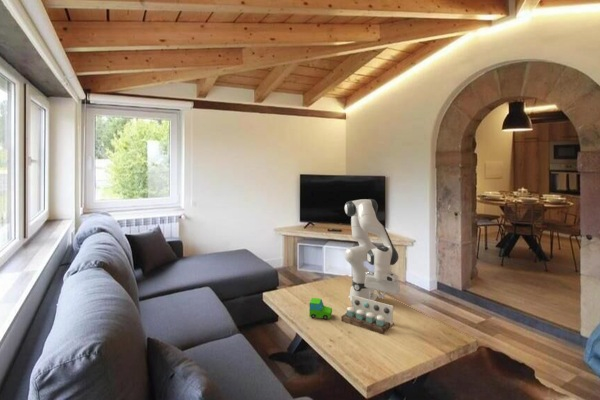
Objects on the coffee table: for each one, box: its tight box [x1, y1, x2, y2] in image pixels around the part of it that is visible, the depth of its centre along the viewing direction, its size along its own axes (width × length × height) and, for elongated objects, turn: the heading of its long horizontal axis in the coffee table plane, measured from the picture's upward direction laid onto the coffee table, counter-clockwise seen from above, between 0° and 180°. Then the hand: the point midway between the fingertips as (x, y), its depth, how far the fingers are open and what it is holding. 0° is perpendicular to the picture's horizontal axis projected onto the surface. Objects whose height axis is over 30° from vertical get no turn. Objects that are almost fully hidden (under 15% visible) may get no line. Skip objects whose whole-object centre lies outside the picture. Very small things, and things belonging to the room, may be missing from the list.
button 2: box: [356, 309, 365, 320], centre depth 208 cm, size 5×5×4 cm
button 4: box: [376, 315, 385, 326], centre depth 200 cm, size 5×5×4 cm
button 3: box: [366, 312, 375, 323], centre depth 204 cm, size 5×5×4 cm
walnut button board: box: [340, 312, 391, 335], centre depth 206 cm, size 10×27×3 cm, turn 53°
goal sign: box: [351, 295, 395, 328], centre depth 213 cm, size 4×27×12 cm, turn 53°
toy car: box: [308, 297, 333, 321], centre depth 216 cm, size 10×13×10 cm
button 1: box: [346, 306, 355, 317], centre depth 212 cm, size 5×5×4 cm
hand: (381, 298), depth 198 cm, fingers closed
